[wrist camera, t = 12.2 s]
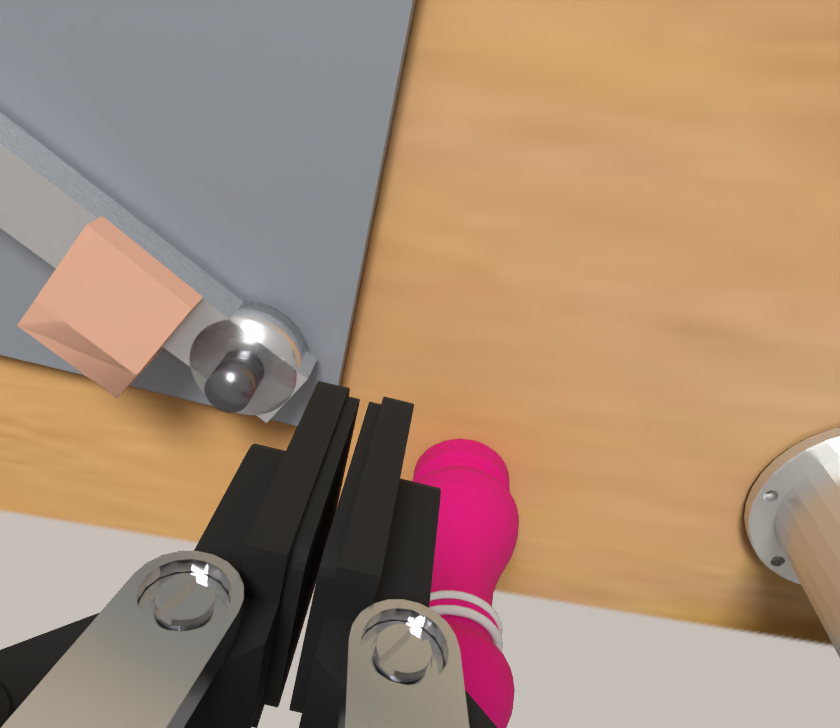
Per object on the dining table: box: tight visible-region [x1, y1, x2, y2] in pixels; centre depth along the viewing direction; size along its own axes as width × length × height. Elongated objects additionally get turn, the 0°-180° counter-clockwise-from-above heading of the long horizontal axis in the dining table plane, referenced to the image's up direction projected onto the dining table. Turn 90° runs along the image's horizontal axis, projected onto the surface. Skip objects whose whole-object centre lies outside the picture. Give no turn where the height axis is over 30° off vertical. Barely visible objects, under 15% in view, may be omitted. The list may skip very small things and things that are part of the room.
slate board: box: [0, 0, 416, 426], centre depth 36 cm, size 26×28×2 cm
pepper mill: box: [413, 439, 519, 728], centre depth 37 cm, size 7×7×20 cm
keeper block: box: [17, 216, 203, 398], centre depth 37 cm, size 6×7×7 cm
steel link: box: [0, 112, 317, 423], centre depth 35 cm, size 24×6×5 cm, turn 49°
